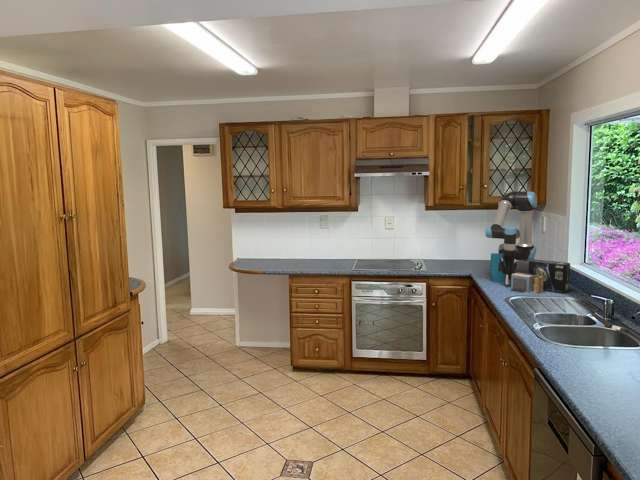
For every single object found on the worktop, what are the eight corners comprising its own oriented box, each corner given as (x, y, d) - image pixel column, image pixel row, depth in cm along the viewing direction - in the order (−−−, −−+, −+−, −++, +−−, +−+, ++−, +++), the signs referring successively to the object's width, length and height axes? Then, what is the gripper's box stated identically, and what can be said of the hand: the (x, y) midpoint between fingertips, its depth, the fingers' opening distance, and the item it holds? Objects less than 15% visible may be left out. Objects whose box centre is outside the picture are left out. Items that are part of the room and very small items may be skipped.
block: (491, 282, 328) (493, 254, 326) (489, 280, 333) (490, 253, 331) (508, 282, 328) (510, 254, 326) (505, 280, 333) (507, 253, 331)
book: (514, 287, 312) (515, 272, 311) (532, 290, 303) (533, 275, 302) (510, 288, 309) (511, 273, 308) (528, 291, 300) (529, 276, 299)
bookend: (513, 289, 306) (514, 277, 305) (525, 291, 300) (525, 279, 299) (510, 290, 303) (510, 278, 302) (521, 292, 297) (522, 280, 296)
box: (527, 288, 310) (528, 260, 307) (532, 286, 317) (533, 258, 315) (564, 294, 294) (566, 264, 292) (569, 291, 302) (571, 262, 299)
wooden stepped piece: (515, 286, 315) (516, 272, 313) (543, 291, 301) (543, 276, 299) (507, 289, 308) (508, 274, 307) (535, 294, 294) (536, 278, 293)
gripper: (497, 249, 313) (495, 283, 316) (516, 251, 303) (514, 286, 306) (503, 248, 317) (501, 281, 320) (521, 250, 307) (519, 285, 310)
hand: (507, 284), depth 313 cm, fingers closed
